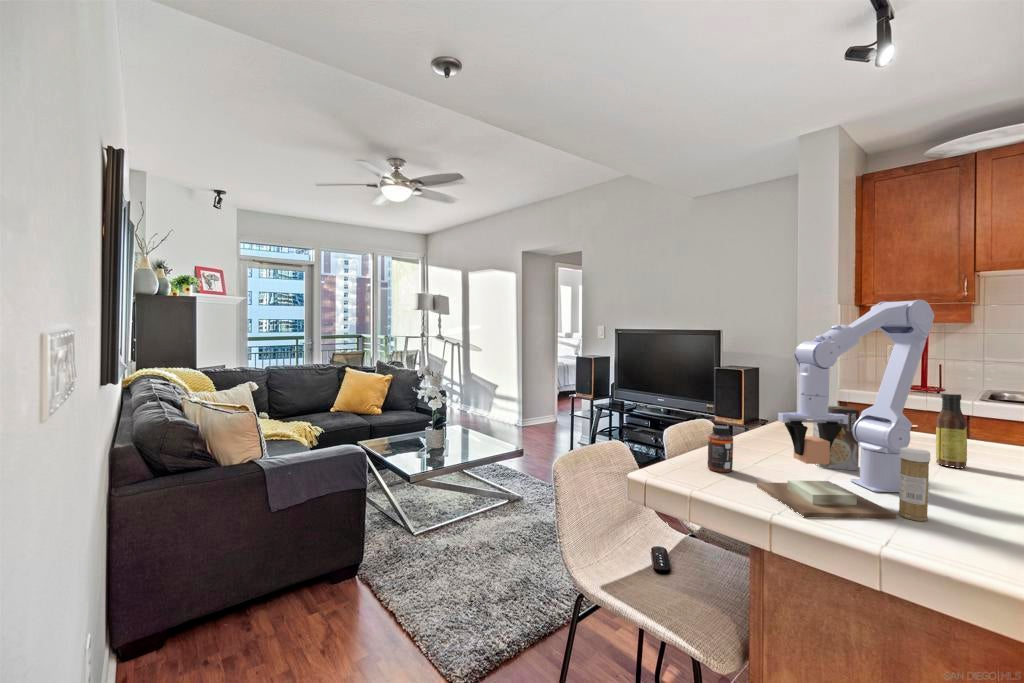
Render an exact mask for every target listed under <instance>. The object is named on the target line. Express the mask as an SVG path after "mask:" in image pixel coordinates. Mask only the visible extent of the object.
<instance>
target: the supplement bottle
mask: <svg viewBox="0 0 1024 683" xmlns="http://www.w3.org/2000/svg"><path fill="white" fill-rule="evenodd" d="M733 460H734V436H732V435H731V434H730V427H729V426H727V425H717V424H716V425H712V433H709V434H708V442H707V469H709V470H710V471H713V472H716V473H730V472H732V471H733V466H734V465H733V464H734V462H733Z"/></svg>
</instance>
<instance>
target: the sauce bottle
mask: <svg viewBox="0 0 1024 683" xmlns="http://www.w3.org/2000/svg"><path fill="white" fill-rule="evenodd" d="M940 396H941V397H940V398H941V400H942V401H941V403H942V404H941V411H940V412H939V413H938V414H937V416H936V427H935V458H936V464H937V463H939V464H942V465H948V466H954V467H965V466H966V467H967V462H968V434H967V433H968V424H967V422H966V421H967V420H966V419H965V417H964V415H963V412H962V409H961V401H962V394H960V393H953V392H942V393H941V394H940ZM939 464H938V465H939ZM966 467H965V468H966Z"/></svg>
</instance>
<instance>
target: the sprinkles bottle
mask: <svg viewBox="0 0 1024 683" xmlns="http://www.w3.org/2000/svg"><path fill="white" fill-rule="evenodd" d="M900 457H901V458H900V459H901V472H900V490H899V492H898V493H899V494H898V495H899V496H898V498H899V503H898V505H899V506H898V509H899V510H898V512H897V513H898V515H899V516H901V517H902V518H905V519H908V520H911V521H917V522H925V521H928V519H929V516H928V506H929V493H930V492H929V489H930V488H929V482H930V481H929V476H930V475H929V473H930V472H929V468H930V466H929V465H930V462H931V452H930V451H928V450H926V449H922V448H917V447H909V446H908V447H904V448H901V449H900Z"/></svg>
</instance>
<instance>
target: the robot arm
mask: <svg viewBox="0 0 1024 683" xmlns="http://www.w3.org/2000/svg"><path fill="white" fill-rule="evenodd" d="M934 319H935V314H934V311H933V310H932V308H931V305H930V303H928V302H927V301H926V300H924V299H915V300H905V301H904V300H903V301H902V300H901V301H880V302H878V303H876V304H875V305H872V306H870V310H869V311H867V312H866V313H865V314H863V315H862V316H860V317H859V318H858V319H856V320H855V321H853V322H851V323H849V325H848V324H847V325H846V324H833V325H832V326H831V327H830V329H829V330H828V331H827V332H825V333H823V334H820V335H816V336H815V338H814V339H813V340H812V341H809V340H808V341H803V342H801V343H800V344H799V345H798V346H796V349H795V352H793V360H794V361H795V362H796V365H797V371H798V374H799V375H798V377H799V379H798V384H799V385H798V410H797V411H792V412H791V411H790V412H778V414H777V415H778V416H777V421H778V422H780V423H783V424H784V427H786V429H787V431H788V434H789V436H790V439H791V441H792V444H793V451H794V450H795V453H796V454H798V455H803V453H804V441H805V436H806V435H807V431H808V429H809V428H808V426H806V425H804V424H805V423H811V424H813V423H817V426H818V430H819V438H821V439H824V440H827V441H829V442H830V449H831V446H832V444H833V442H834V440H835V438H836V436H837V435H838V434H839V432H840V431H841V430H842V426H841V425H838V423H842V424H848V415H844V414H832V413H828V406H829V402H830V400H829V399H830V398H829V397H830V376H831V374H830V373H831V372H830V371H831V370H830V369H831V367H833V366H835V364H836V363H837V360H838V358H839V357H840V356H842V355H843V354H846V352H849V351H850V350H852V349H853V348H855V347H856V346H858V344H859V340H860V338H861V337H864V336H866V335H868V334H870V333H871V332H874V331H876V330H877V329H880V331H881V332H882V333H883V334H884V335H885V336H886V337H887V338H888V339H889V340H891V341H893V344H894V345H893V348H892V350H891V354H890V356H889V359H888V363H887V366H886V368H885V371H884V373H883V377H882V380H881V383H880V386H879V389H878V392H877V395H876V397H875V400H874V401H875V402H874V404H873V405H871V406H870V407H867V408H866V409H863V410H862V411H861V413H860V414H859V419H858V420H857V421H856V422H855V424H854V426H853V436H854V438H855V440H856V441H858V446H859V447H860V458H859V460H860V461H859V462H860V463H859V465H860V466H859V478H851V479H850V482H852V483H854V484H857V485H858V486H861V487H863V488H864V489H867V490H870V491H872V492H874V493H899V490H900V472H901V459H900V458H901V457H900V449H901V448H904V447H909V445H910V442H911V430H912V425H913V423H912V422H911V421H910V420H909V418H907V417H906V416H905V414H904V413H903V411H904V409H905V405H906V403H907V400H908V397H909V394H910V390H911V388H912V385H913V382H914V378H915V376H916V374H917V370H918V367H919V363H920V361H921V359H922V356H923V353H924V349H925V347H926V342H927V339H928V337H929V334H930V332H931V329H932V328H931V327H932V325H933V321H934Z"/></svg>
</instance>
